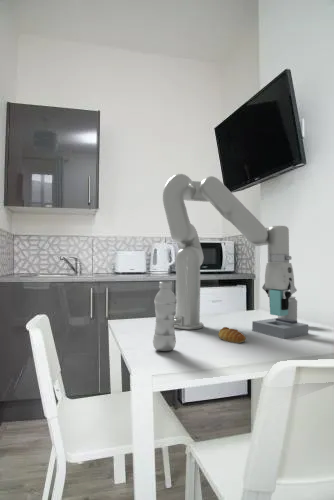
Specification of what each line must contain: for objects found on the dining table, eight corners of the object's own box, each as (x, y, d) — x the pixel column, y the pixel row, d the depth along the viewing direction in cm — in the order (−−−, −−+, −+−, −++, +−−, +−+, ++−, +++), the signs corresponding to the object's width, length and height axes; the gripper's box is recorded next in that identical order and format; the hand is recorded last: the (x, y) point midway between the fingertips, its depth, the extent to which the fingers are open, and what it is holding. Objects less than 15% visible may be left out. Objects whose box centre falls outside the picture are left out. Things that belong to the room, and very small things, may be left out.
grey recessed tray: (284, 338, 111) (284, 326, 111) (252, 330, 123) (252, 319, 123) (308, 334, 119) (308, 322, 119) (276, 326, 130) (276, 316, 131)
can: (293, 323, 138) (294, 295, 138) (299, 327, 130) (299, 297, 131) (275, 323, 138) (276, 294, 139) (280, 326, 131) (280, 296, 131)
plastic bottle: (152, 347, 98) (153, 280, 98) (174, 347, 98) (175, 281, 99) (153, 353, 91) (154, 282, 92) (177, 353, 92) (178, 282, 92)
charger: (280, 316, 117) (279, 290, 117) (270, 314, 121) (269, 289, 121) (288, 314, 119) (287, 289, 120) (277, 313, 123) (277, 288, 123)
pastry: (250, 342, 106) (250, 330, 107) (236, 345, 103) (236, 333, 103) (229, 336, 114) (229, 325, 114) (215, 339, 110) (215, 327, 110)
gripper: (305, 259, 116) (305, 310, 115) (266, 259, 130) (267, 305, 129) (292, 259, 111) (292, 312, 111) (253, 259, 125) (254, 306, 125)
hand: (278, 308), depth 120 cm, fingers closed on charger, 4 cm apart
